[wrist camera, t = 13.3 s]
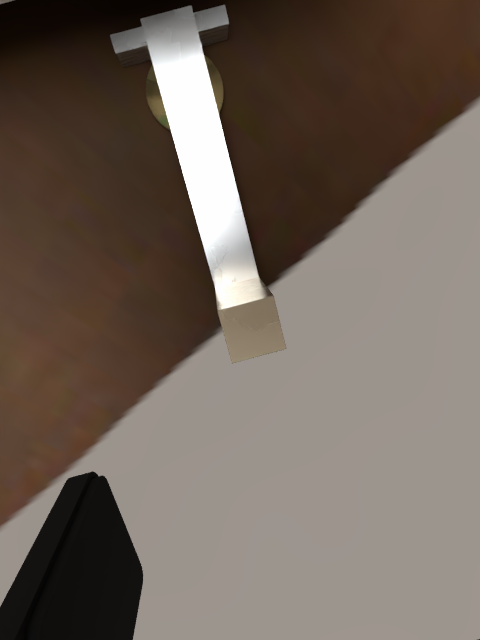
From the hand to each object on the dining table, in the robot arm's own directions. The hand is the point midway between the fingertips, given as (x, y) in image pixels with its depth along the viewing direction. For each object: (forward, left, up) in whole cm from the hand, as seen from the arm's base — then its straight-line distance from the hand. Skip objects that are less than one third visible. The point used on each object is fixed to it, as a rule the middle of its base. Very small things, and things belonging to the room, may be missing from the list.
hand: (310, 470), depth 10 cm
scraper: (0, -8, -23) cm, 24 cm away
